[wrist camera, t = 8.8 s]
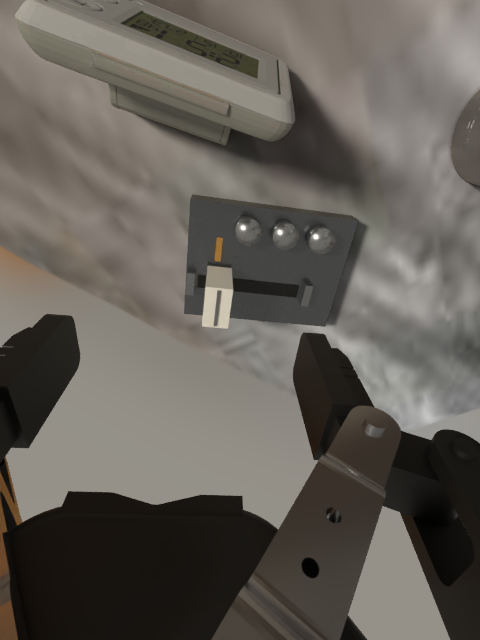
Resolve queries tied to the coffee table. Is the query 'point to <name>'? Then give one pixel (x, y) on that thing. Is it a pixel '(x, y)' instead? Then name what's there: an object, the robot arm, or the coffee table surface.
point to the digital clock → (165, 66)
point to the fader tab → (217, 297)
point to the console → (268, 258)
